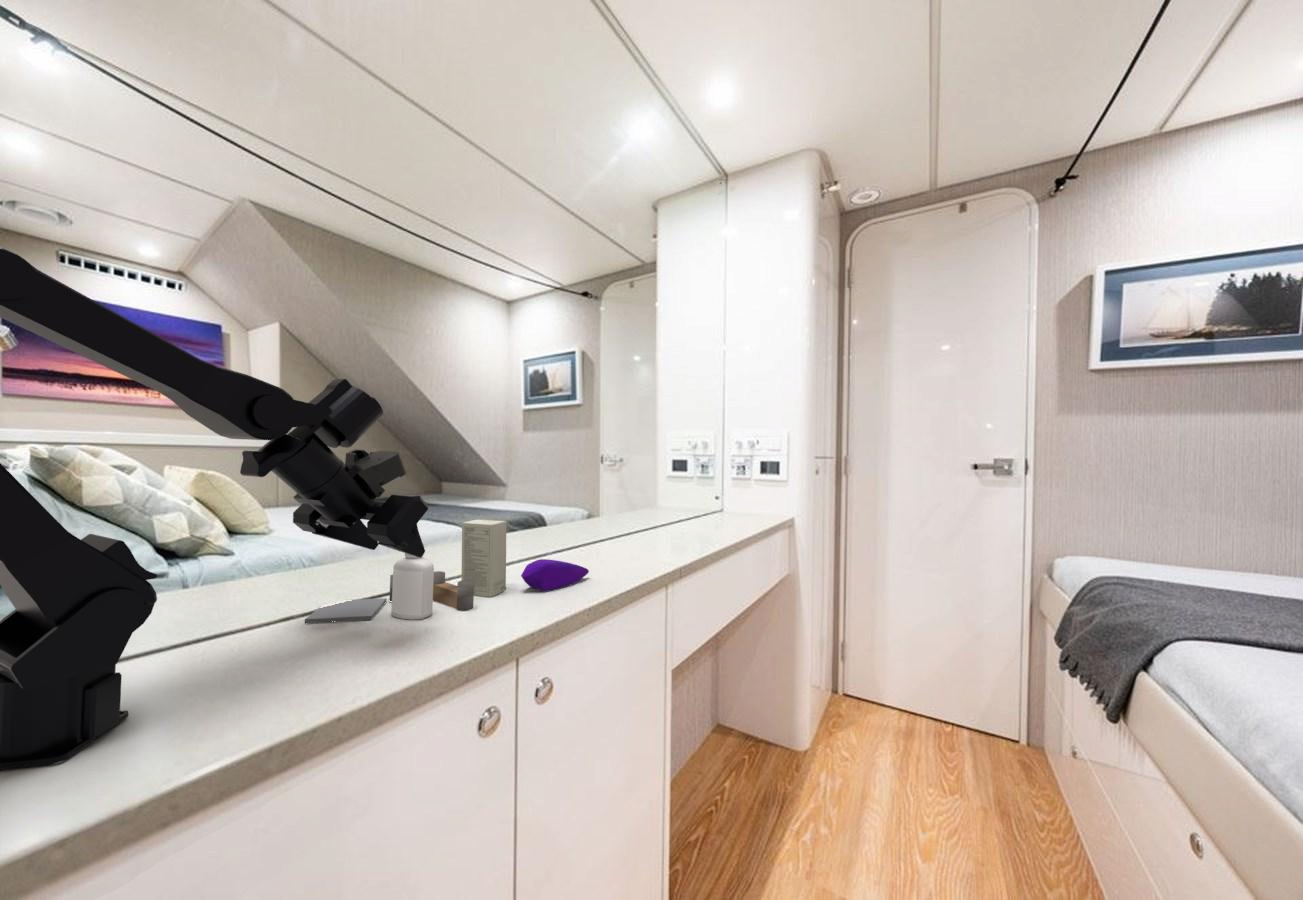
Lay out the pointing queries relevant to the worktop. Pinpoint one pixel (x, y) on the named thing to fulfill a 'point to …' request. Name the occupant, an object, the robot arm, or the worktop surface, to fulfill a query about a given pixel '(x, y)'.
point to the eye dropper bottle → (412, 588)
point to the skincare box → (484, 555)
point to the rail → (450, 592)
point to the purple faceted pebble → (552, 574)
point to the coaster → (347, 611)
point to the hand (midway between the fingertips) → (398, 550)
